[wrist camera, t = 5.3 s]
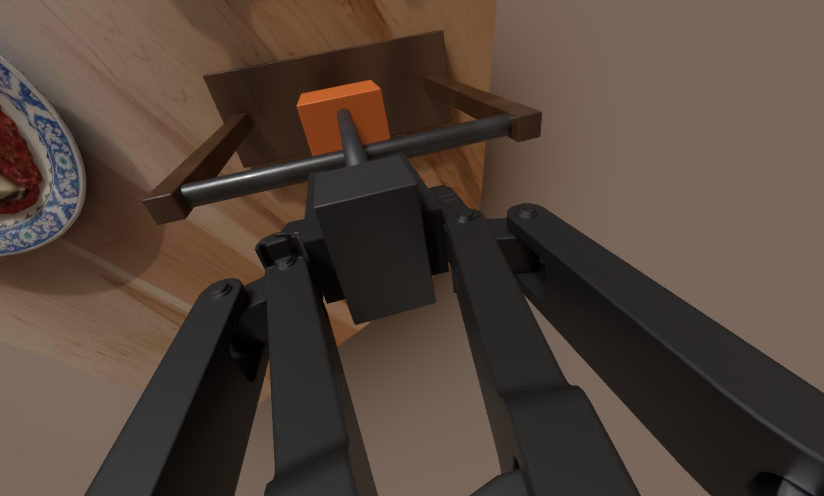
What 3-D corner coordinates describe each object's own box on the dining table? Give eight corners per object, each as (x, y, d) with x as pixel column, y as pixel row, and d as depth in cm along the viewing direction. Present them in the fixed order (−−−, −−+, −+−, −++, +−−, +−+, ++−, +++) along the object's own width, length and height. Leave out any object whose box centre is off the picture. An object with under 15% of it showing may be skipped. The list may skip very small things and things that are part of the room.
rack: (439, 30, 39) (567, 26, 18) (447, 120, 44) (552, 192, 24) (206, 74, 36) (60, 126, 16) (246, 164, 42) (175, 286, 21)
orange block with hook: (371, 79, 29) (460, 156, 10) (384, 148, 32) (471, 303, 13) (300, 93, 28) (257, 203, 9) (322, 162, 31) (321, 345, 13)
